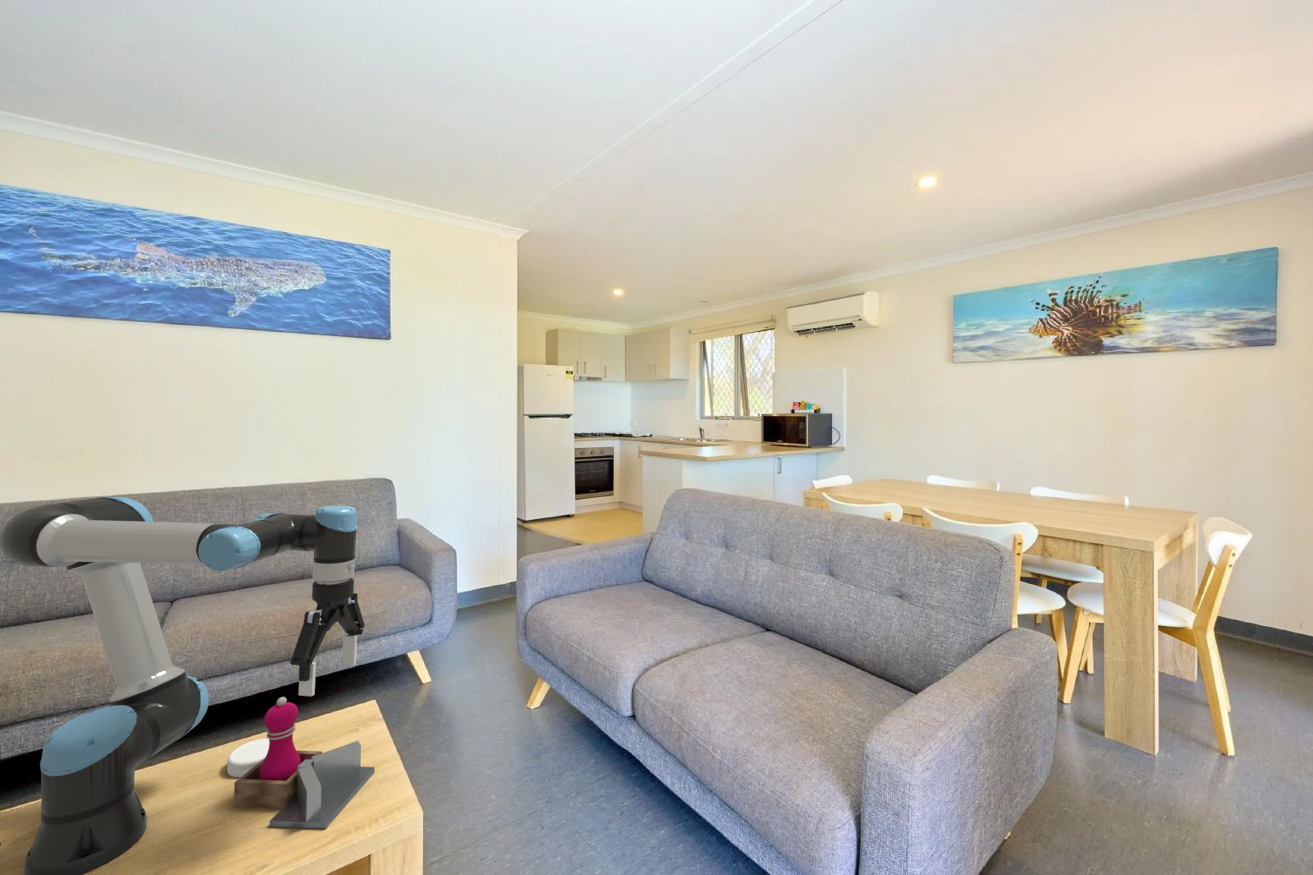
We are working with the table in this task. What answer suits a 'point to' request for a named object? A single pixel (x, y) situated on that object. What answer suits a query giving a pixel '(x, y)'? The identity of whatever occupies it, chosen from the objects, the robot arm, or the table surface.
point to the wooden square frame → (267, 787)
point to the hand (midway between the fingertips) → (329, 678)
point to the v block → (324, 788)
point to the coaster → (247, 757)
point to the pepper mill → (280, 742)
